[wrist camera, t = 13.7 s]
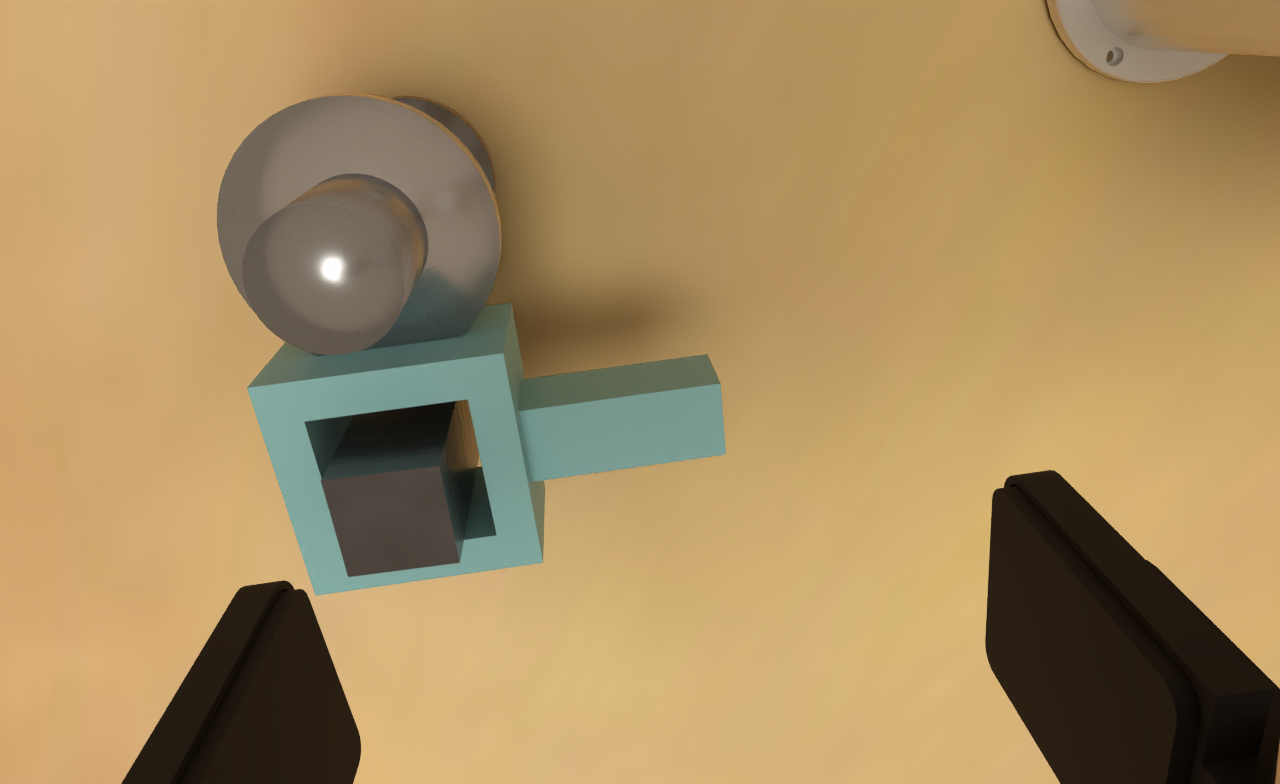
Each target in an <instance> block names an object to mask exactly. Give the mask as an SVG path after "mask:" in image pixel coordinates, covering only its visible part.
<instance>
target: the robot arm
mask: <svg viewBox="0 0 1280 784" xmlns="http://www.w3.org/2000/svg"><path fill="white" fill-rule="evenodd" d="M1047 4H1048V8H1049V12H1050V16H1051V19H1052V21H1053V23H1054V25H1055V27H1056V29H1057V32H1058V34H1059V36H1060V38H1061V39H1062V41H1063V42H1064V43H1065V45H1066V46H1067V47H1068V49H1069V50H1070V51H1071V52H1072V54H1073V55H1074V56H1075V57H1076V58H1078V59H1079V60H1080V61H1081V62H1083V63H1084V64H1085V65H1086V66H1087V67H1089V68H1090V69H1092V70H1094V71H1096V72H1098V73H1100V74H1102V75H1105V76H1107V77H1109V78H1113V79H1118V80H1123V81H1128V82H1138V83H1159V82H1167V81H1175V80H1178V79H1181V78H1184V77H1187V76H1190V75H1193V74H1196V73H1199V72H1200V71H1202V70H1204V69H1206V68H1208V67H1210V66H1212V65H1214V64H1215V63H1217V62H1219V61H1221V60H1222V59H1224V58H1225V57H1226V56H1228V55H1229V54H1243V55H1263V56H1280V0H1047ZM1107 54H1108V58H1107V59H1106V57H1107ZM985 643H986V653H987V657H988V661H989V664H990V666H991V669H992V671H993V673H994V674H995V676H996V678H997V679H998V681H999V683H1000V684H1001V686H1002V688H1003V689H1004V691H1005V693H1006V694H1007V696H1008V698H1009V699H1010V701H1011V703H1012V704H1013V706H1014V707H1015V709H1016V711H1017V712H1018V714H1019V716H1020V717H1021V719H1022V721H1023V722H1024V724H1025V726H1026V727H1027V729H1028V731H1029V732H1030V734H1031V736H1032V737H1033V739H1034V740H1035V742H1036V744H1037V745H1038V747H1039V749H1040V750H1041V752H1042V754H1043V755H1044V757H1045V759H1046V760H1047V762H1048V764H1049V765H1050V767H1051V769H1052V770H1053V772H1054V773H1055V775H1056V777H1057V778H1058V780H1059V782H1060V783H1061V784H1280V689H1279V688H1278V687H1277V686H1276V685H1275V684H1274V683H1273V682H1272V681H1271V680H1270V679H1269V678H1268V677H1267V676H1266V675H1265V674H1264V673H1263V672H1262V671H1261V670H1260V669H1259V668H1258V667H1257V666H1256V665H1255V664H1254V663H1253V662H1252V661H1251V660H1250V659H1249V658H1248V657H1247V656H1246V655H1245V654H1244V653H1243V652H1242V651H1241V650H1240V649H1239V648H1238V647H1237V646H1236V645H1235V644H1234V643H1233V642H1232V641H1231V640H1230V639H1229V638H1228V637H1227V636H1226V635H1225V634H1224V633H1223V632H1222V631H1221V630H1220V629H1219V628H1218V627H1217V626H1216V625H1215V624H1214V623H1213V622H1212V621H1211V620H1210V619H1209V618H1208V617H1207V616H1206V615H1205V614H1204V613H1203V612H1202V611H1201V610H1200V609H1199V608H1198V607H1197V606H1196V605H1195V604H1194V603H1193V602H1192V601H1191V600H1189V599H1188V598H1187V597H1186V596H1185V595H1184V594H1183V593H1182V592H1181V591H1180V590H1179V589H1178V588H1177V587H1176V586H1175V585H1174V584H1173V583H1172V582H1171V581H1170V580H1169V579H1168V578H1167V577H1166V576H1165V575H1164V574H1163V573H1162V572H1161V571H1160V570H1159V569H1158V568H1157V567H1156V566H1154V565H1153V564H1152V563H1150V562H1149V561H1148V560H1145V559H1144V558H1143V557H1142V556H1141V555H1140V554H1139V553H1138V552H1137V551H1136V550H1135V549H1134V548H1133V547H1132V546H1131V545H1130V544H1129V543H1128V542H1127V541H1126V540H1125V539H1124V538H1123V537H1122V536H1121V535H1120V534H1119V533H1118V532H1117V531H1116V530H1115V529H1114V528H1113V527H1112V526H1111V525H1110V524H1109V523H1108V522H1107V521H1106V520H1105V519H1104V518H1103V517H1102V516H1101V515H1100V514H1099V513H1098V512H1097V511H1096V510H1095V509H1094V508H1093V507H1092V506H1091V505H1090V504H1089V503H1088V502H1087V501H1086V500H1085V499H1084V498H1083V497H1082V496H1081V495H1080V494H1079V493H1078V492H1077V491H1076V490H1075V489H1074V488H1073V487H1072V486H1071V485H1070V484H1069V483H1068V482H1067V481H1066V480H1065V479H1064V478H1063V477H1062V476H1061V475H1060V474H1058V473H1057V472H1056V471H1052V470H1048V471H1041V472H1034V473H1027V474H1020V475H1014V476H1010V477H1008V478H1007V480H1006V482H1005V484H1004V488H999V489H996V490H995V491H994V493H993V498H992V516H991V537H990V558H989V579H988V599H987V620H986V641H985ZM360 755H361V741H360V735H359V732H358V729H357V726H356V724H355V721H354V718H353V715H352V713H351V710H350V707H349V705H348V702H347V699H346V697H345V694H344V691H343V689H342V686H341V683H340V681H339V678H338V675H337V672H336V670H335V667H334V664H333V662H332V659H331V656H330V654H329V651H328V648H327V646H326V643H325V640H324V638H323V635H322V632H321V630H320V627H319V624H318V621H317V619H316V616H315V613H314V611H313V608H312V605H311V603H310V600H309V598H308V596H307V593H306V592H305V591H304V590H302V589H297V590H294V588H293V586H292V585H291V584H290V583H289V582H287V581H277V582H270V583H264V584H257V585H250V586H244V587H242V588H240V589H239V590H238V592H237V593H236V594H235V596H234V598H233V599H232V601H231V603H230V604H229V606H228V608H227V609H226V611H225V613H224V614H223V616H222V618H221V619H220V621H219V623H218V624H217V626H216V628H215V629H214V631H213V632H212V634H211V636H210V637H209V639H208V641H207V642H206V644H205V646H204V647H203V649H202V651H201V652H200V654H199V656H198V657H197V659H196V661H195V662H194V664H193V666H192V667H191V669H190V671H189V672H188V674H187V676H186V677H185V679H184V681H183V682H182V684H181V686H180V687H179V689H178V691H177V692H176V694H175V696H174V697H173V699H172V701H171V702H170V704H169V706H168V707H167V709H166V711H165V712H164V714H163V716H162V717H161V719H160V720H159V722H158V724H157V725H156V727H155V729H154V730H153V732H152V734H151V735H150V737H149V739H148V740H147V742H146V744H145V745H144V747H143V749H142V750H141V752H140V754H139V755H138V757H137V759H136V760H135V762H134V764H133V765H132V767H131V769H130V770H129V772H128V774H127V775H126V777H125V779H124V780H123V782H122V784H353V782H354V778H355V775H356V772H357V768H358V765H359V761H360Z"/></svg>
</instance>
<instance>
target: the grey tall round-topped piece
mask: <svg viewBox="0 0 1280 784" xmlns="http://www.w3.org/2000/svg"><path fill="white" fill-rule="evenodd" d="M494 195H495V175H494V169H493V164H492V160H491V158H490V155H489V152H488V150H487V148H486V146H485V144H484V142H483V140H482V139H481V137H480V136H479V135H478V133H477V132H476V130H475V129H474V128H473V127H472V126H471V125H470V124H469V123H468V122H467V121H466V120H465V119H464V118H463V117H462V116H460V115H459V114H458V113H456V112H455V111H453V110H452V109H450V108H448V107H446V106H444V105H442V104H440V103H438V102H435V101H432V100H429V99H424V98H420V97H410V96H403V97H393V98H386V97H381V96H377V95H372V94H360V93H342V94H331V95H326V96H321V97H316V98H313V99H310V100H306V101H304V102H301V103H298V104H295V105H292V106H289V107H287V108H285V109H283V110H282V111H280V112H278V113H276V114H274V115H272V116H271V117H269V118H268V119H267V120H265V121H264V122H263V123H261V124H260V125H259V126H257V127H256V128H255V129H254V130H253V131H252V132H251V133H250V134H249V135H248V136H247V137H246V138H245V139H244V141H243V142H242V144H241V145H240V146H239V148H238V149H237V151H236V152H235V153H234V155H233V157H232V159H231V161H230V163H229V165H228V167H227V169H226V171H225V174H224V177H223V180H222V183H221V186H220V192H219V198H218V204H217V228H218V237H219V243H220V247H221V251H222V255H223V259H224V261H225V264H226V266H227V269H228V271H229V274H230V276H231V278H232V280H233V282H234V283H235V285H236V287H237V289H238V291H239V292H240V294H241V295H242V297H243V298H244V299H245V301H246V302H247V304H248V305H249V307H250V308H251V309H252V310H253V311H254V312H255V313H256V314H257V316H258V317H259V319H260V320H261V321H262V322H263V323H264V324H265V326H266V327H267V328H268V329H269V330H271V331H272V332H273V333H274V334H275V335H276V336H278V337H279V338H281V339H282V340H284V341H285V342H287V343H289V344H291V345H293V346H295V347H297V348H300V349H302V350H304V351H306V352H308V353H311V354H313V355H316V356H325V355H342V354H348V353H353V352H357V351H362V350H369V349H377V348H384V347H392V346H399V345H407V344H414V343H421V342H429V341H436V340H444V339H451V338H458V337H459V336H460V335H461V334H462V333H464V332H465V331H466V330H467V329H468V327H469V326H470V325H471V324H472V323H473V322H474V321H475V319H476V318H477V317H478V315H479V313H480V312H481V310H482V309H483V307H484V306H485V304H486V302H487V300H488V297H489V295H490V293H491V291H492V288H493V285H494V282H495V278H496V275H497V271H498V267H499V261H500V255H501V243H502V231H501V222H500V215H499V210H498V206H497V202H496V198H495V196H494Z"/></svg>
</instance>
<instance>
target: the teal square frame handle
mask: <svg viewBox="0 0 1280 784" xmlns="http://www.w3.org/2000/svg"><path fill="white" fill-rule="evenodd" d="M247 389H248V392H249V395H250V398H251V401H252V404H253V407H254V411H255V414H256V417H257V420H258V423H259V426H260V429H261V432H262V435H263V438H264V441H265V444H266V447H267V450H268V453H269V456H270V459H271V462H272V465H273V468H274V471H275V474H276V477H277V480H278V483H279V486H280V489H281V492H282V495H283V498H284V501H285V504H286V507H287V511H288V514H289V517H290V520H291V523H292V526H293V529H294V532H295V535H296V538H297V541H298V544H299V547H300V550H301V553H302V556H303V559H304V562H305V565H306V568H307V571H308V574H309V577H310V580H311V583H312V586H313V589H314V592H315V595H323V594H330V593H337V592H344V591H351V590H358V589H365V588H372V587H379V586H385V585H392V584H399V583H406V582H413V581H420V580H427V579H434V578H441V577H448V576H455V575H461V574H468V573H475V572H482V571H489V570H496V569H503V568H510V567H517V566H524V565H531V564H537V563H543V544H544V505H545V486H544V480H549V479H556V478H563V477H570V476H577V475H584V474H591V473H598V472H605V471H612V470H619V469H627V468H634V467H641V466H648V465H655V464H662V463H669V462H676V461H683V460H690V459H697V458H704V457H712V456H719V455H726V449H725V436H724V423H723V410H722V397H721V384H720V381H719V379H718V377H717V375H716V372H715V370H714V368H713V366H712V364H711V361H710V359H709V357H708V355H707V354H706V355H698V356H691V357H684V358H676V359H669V360H662V361H655V362H647V363H640V364H633V365H625V366H618V367H611V368H603V369H596V370H589V371H581V372H574V373H567V374H559V375H552V376H545V377H537V378H530V379H525V375H524V370H523V364H522V359H521V353H520V348H519V342H518V336H517V331H516V325H515V320H514V314H513V309H512V303H506V304H498V305H491V306H484V307H483V309H482V310H481V312H480V313H479V315H478V317H477V318H476V319H475V321H474V322H473V323H472V324H471V325H470V326H469V327H468V329H467V330H466V331H465V332H464V333H462V334H461V335H460V336H459V337H458V338H451V339H444V340H436V341H429V342H421V343H414V344H407V345H399V346H392V347H384V348H377V349H369V350H362V351H357V352H353V353H348V354H342V355H325V356H316V355H313V354H311V353H308V352H306V351H304V350H302V349H300V348H297V347H295V346H293V345H291V344H289V343H287V342H285V343H284V345H283V346H282V347H281V348H280V349H279V351H278V352H277V353H276V354H275V355H274V357H273V358H272V359H271V360H270V361H269V362H268V364H267V365H266V366H265V367H264V368H263V370H262V371H261V372H260V373H259V374H258V376H257V377H256V378H255V379H254V380H253V381H252V383H251V384H250V385H249V386H248V387H247ZM466 399H468V403H469V408H470V413H471V417H472V422H473V427H474V431H475V436H476V441H477V445H478V450H479V455H480V459H481V464H482V467H477V470H476V475H475V481H474V486H473V492H472V498H471V503H470V509H469V514H468V520H467V526H466V531H465V537H464V542H463V548H462V554H461V559H460V563H455V564H447V565H439V566H431V567H424V568H416V569H408V570H400V571H392V572H385V573H377V574H369V575H361V576H354V577H348V575H347V572H346V568H345V565H344V561H343V557H342V554H341V550H340V547H339V543H338V540H337V536H336V533H335V529H334V526H333V522H332V519H331V515H330V512H329V508H328V505H327V501H326V498H325V494H324V491H323V487H322V483H321V479H322V477H323V475H324V473H325V471H326V469H327V467H328V465H329V463H330V462H331V460H332V458H333V456H334V454H335V452H336V450H337V448H338V446H339V444H340V442H341V440H342V438H343V436H344V434H345V432H346V430H347V428H348V426H349V424H350V422H351V421H352V419H353V417H354V415H356V414H364V413H371V412H378V411H386V410H393V409H400V408H407V407H415V406H422V405H429V404H437V403H444V402H451V401H459V400H466Z"/></svg>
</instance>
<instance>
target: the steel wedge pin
mask: <svg viewBox="0 0 1280 784" xmlns="http://www.w3.org/2000/svg"><path fill="white" fill-rule="evenodd" d="M478 458H479V450H478V445H477V441H476V436H475V431H474V427H473V422H472V417H471V413H470V408H469V403H468V399H466V400H459V401H451V402H444V403H437V404H429V405H422V406H415V407H407V408H400V409H393V410H386V411H378V412H371V413H364V414H356V415H354V417H353V419H352V421H351V422H350V424H349V426H348V428H347V430H346V432H345V434H344V436H343V438H342V440H341V442H340V444H339V446H338V448H337V450H336V452H335V454H334V456H333V458H332V460H331V462H330V463H329V465H328V467H327V469H326V471H325V473H324V475H323V477H322V479H321V483H322V487H323V491H324V494H325V498H326V501H327V505H328V508H329V512H330V515H331V519H332V522H333V526H334V529H335V533H336V536H337V540H338V543H339V547H340V550H341V554H342V557H343V561H344V565H345V568H346V572H347V575H348V577H354V576H361V575H369V574H377V573H385V572H392V571H400V570H408V569H416V568H424V567H431V566H439V565H447V564H455V563H460V559H461V554H462V548H463V542H464V537H465V531H466V526H467V520H468V514H469V509H470V503H471V498H472V492H473V486H474V481H475V475H476V470H477V464H478Z"/></svg>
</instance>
